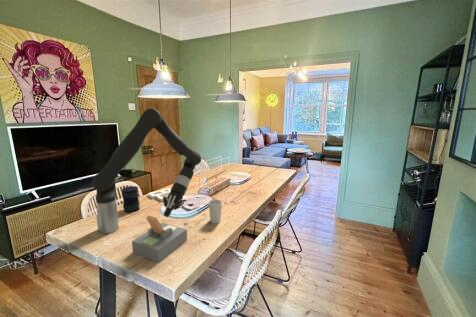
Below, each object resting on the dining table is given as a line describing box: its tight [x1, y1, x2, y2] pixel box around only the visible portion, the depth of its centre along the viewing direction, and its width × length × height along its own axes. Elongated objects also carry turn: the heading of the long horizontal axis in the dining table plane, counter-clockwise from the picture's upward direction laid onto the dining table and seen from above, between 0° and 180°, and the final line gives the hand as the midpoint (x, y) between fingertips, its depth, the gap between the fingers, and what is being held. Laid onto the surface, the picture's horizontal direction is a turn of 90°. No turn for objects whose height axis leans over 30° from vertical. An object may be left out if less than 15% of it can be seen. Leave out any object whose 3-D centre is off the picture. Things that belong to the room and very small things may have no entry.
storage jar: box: [121, 185, 141, 214], centre depth 153 cm, size 10×10×15 cm
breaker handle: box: [146, 215, 164, 235], centre depth 109 cm, size 2×5×12 cm, turn 65°
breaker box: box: [131, 222, 188, 263], centre depth 113 cm, size 20×16×9 cm
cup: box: [208, 199, 223, 224], centre depth 139 cm, size 8×8×12 cm
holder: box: [147, 188, 187, 203], centre depth 169 cm, size 45×18×3 cm, turn 44°
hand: (165, 216), depth 114 cm, fingers closed
